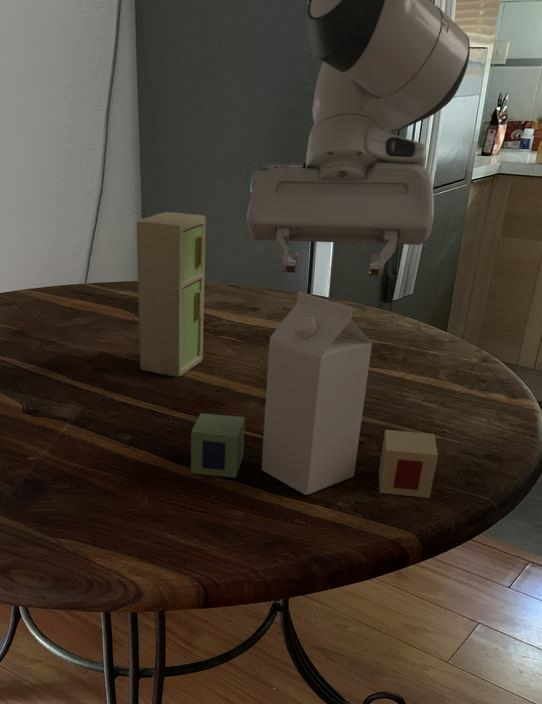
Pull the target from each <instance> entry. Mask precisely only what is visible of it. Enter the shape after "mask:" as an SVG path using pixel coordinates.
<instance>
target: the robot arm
mask: <svg viewBox="0 0 542 704" xmlns="http://www.w3.org/2000/svg"><path fill="white" fill-rule="evenodd" d="M306 23H307V34H308V40H309V44H310V48H311V51H312V54H313V56H314V57H315V58H317V59H318V60H320V61H322V63H321V66H320V69H319V72H318V76H317V80H316V85H315V89H314V96H313V104H312V113H311V114H312V119H313V126H312V127H311V130H310V132H309V134H308V141H307V149H306V155H305V162H289V163H278V162H269V163H266V165H265V166H262V167H259V168H257V169H256V170H254V172H253V173H252V176H251V180H250V186H249V187H250V188H249V189H250V193H251V197H250V201H249V204H248V209H247V215H246V223H247V230H248V234H249V235H250V236H251V237H252V239H253V240H255V241H275V244H276V250H277V251H278V253H279V255H280V257H281V258H282V261H281V262H282V263H281V265H282V266H281V268H282V269H281V270H282V271H281V272H282V273H294V274H295V273H296V272H297V265H298V251H295V250H290V248H289V247H290V242H310V243H311V242H312V243H313V242H314V243H342V244H343V243H345V244H346V243H347V244H376V245H377V244H378V245H379V244H380V245H382V248H381V251H380V252H379V253H371V255H370V262H369V269H368V270H369V271H368V276H371V277H383V275H384V270H385V264H386V263H387V262H388V261H389V259H390V258H391V257H392V255H394V253H395V252H396V249H397V248H396V247H397V245H410V246H420V245H422V244H424V242H426V241H427V240H428V239H429V238H430V236H431V233H432V231H433V225H434V217H435V196H434V185H433V179H432V176H431V174H430V172H429V171H428V169H426V164H427V147H426V145H425V144H424V143H423V142H419V141H415V140H412V139H408V138H405V137H401V136H399V135H396V134H392V133H390V132H396V131H401V130H403V129H405V128H408V127H410V126H413V125H415V124H416V123H418V122H421V121H423V120H426V119H428V118H430V117H433V115H435V114H437V113H438V112H440V111H441V110H442V109H443V108H445V107H446V106H447V105H449V103H450V102H451V101H452V100H453V98H454V97H455V95H456V94H457V92H458V91H459V88H460V86H461V84H462V83H463V80H464V77H465V74H466V71H467V68H468V65H469V61H470V60H469V59H470V53H471V45H470V37H469V35H468V34H467V33H466V32H464V31H463V29H462V28H461V27H460V26H459V25H458V24H457V23H456V22H455V21H454V20H453V19H452V18H451V17H450V16H448V15H447V14H446V13H445V12H444V11H443V10H442V9H441V8H440V7H439V6H438V5H436V4H434V3H433V2H432V1H431V0H309V2H308V5H307V20H306Z"/></svg>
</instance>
